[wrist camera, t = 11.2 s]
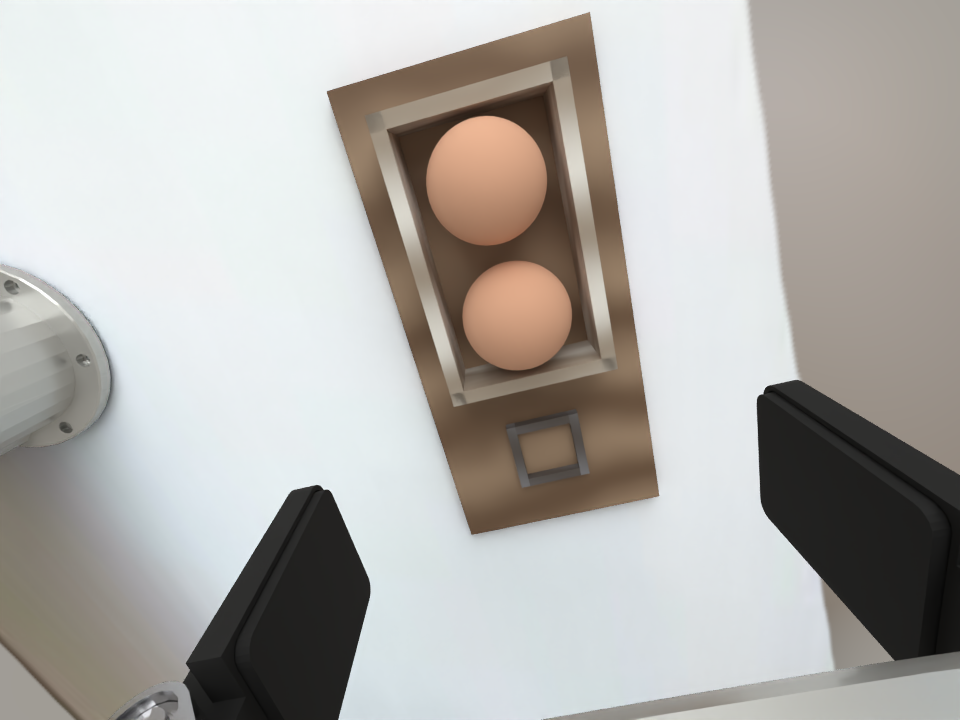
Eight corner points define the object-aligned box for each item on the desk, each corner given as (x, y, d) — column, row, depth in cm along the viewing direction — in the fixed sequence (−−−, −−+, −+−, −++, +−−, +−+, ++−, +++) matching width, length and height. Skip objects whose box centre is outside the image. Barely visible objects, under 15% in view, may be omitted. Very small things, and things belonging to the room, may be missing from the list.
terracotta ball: (529, 365, 30) (541, 406, 24) (447, 321, 29) (439, 355, 23) (580, 283, 28) (606, 308, 22) (494, 234, 27) (498, 247, 21)
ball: (505, 257, 27) (512, 275, 22) (414, 206, 26) (396, 211, 21) (559, 160, 25) (582, 153, 20) (463, 102, 24) (458, 76, 19)
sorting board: (654, 487, 34) (678, 530, 30) (471, 525, 35) (470, 571, 31) (585, 18, 24) (608, -17, 20) (332, 95, 25) (302, 76, 21)
